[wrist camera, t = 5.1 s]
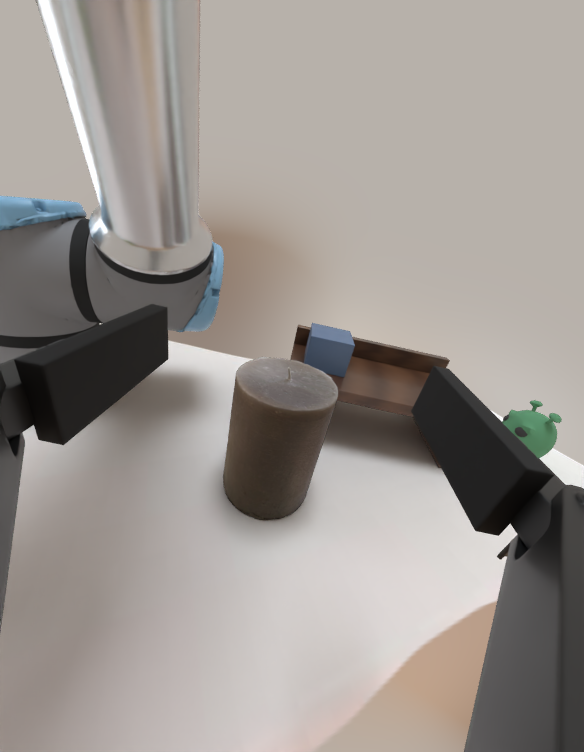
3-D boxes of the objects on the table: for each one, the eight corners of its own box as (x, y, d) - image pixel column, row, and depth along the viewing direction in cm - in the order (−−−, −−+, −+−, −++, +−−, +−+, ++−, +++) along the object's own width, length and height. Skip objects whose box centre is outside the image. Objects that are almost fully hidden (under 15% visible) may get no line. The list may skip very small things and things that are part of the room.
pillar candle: (257, 540, 25) (288, 412, 18) (206, 470, 31) (215, 352, 24) (323, 490, 32) (365, 381, 25) (271, 440, 38) (293, 339, 31)
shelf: (274, 432, 39) (291, 357, 34) (284, 384, 52) (298, 324, 46) (449, 469, 40) (493, 402, 34) (417, 413, 52) (446, 357, 46)
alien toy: (476, 435, 49) (507, 389, 45) (518, 445, 49) (553, 400, 45) (496, 463, 43) (535, 413, 39) (544, 475, 43) (589, 426, 38)
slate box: (303, 368, 38) (311, 335, 36) (304, 352, 44) (311, 322, 41) (344, 377, 39) (355, 345, 36) (341, 360, 44) (350, 331, 42)
